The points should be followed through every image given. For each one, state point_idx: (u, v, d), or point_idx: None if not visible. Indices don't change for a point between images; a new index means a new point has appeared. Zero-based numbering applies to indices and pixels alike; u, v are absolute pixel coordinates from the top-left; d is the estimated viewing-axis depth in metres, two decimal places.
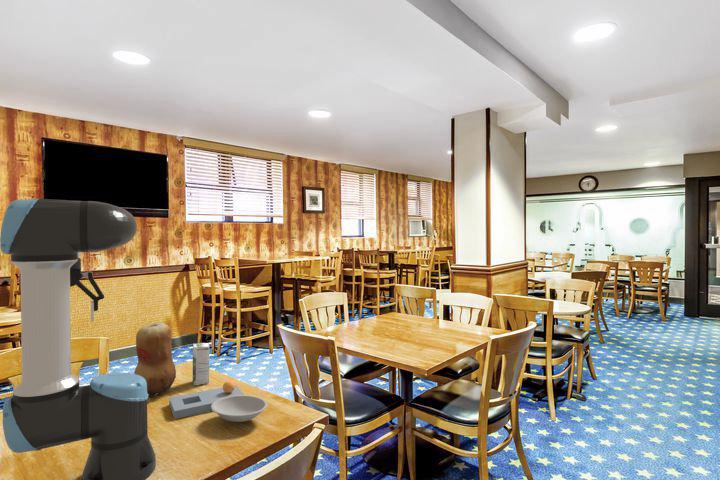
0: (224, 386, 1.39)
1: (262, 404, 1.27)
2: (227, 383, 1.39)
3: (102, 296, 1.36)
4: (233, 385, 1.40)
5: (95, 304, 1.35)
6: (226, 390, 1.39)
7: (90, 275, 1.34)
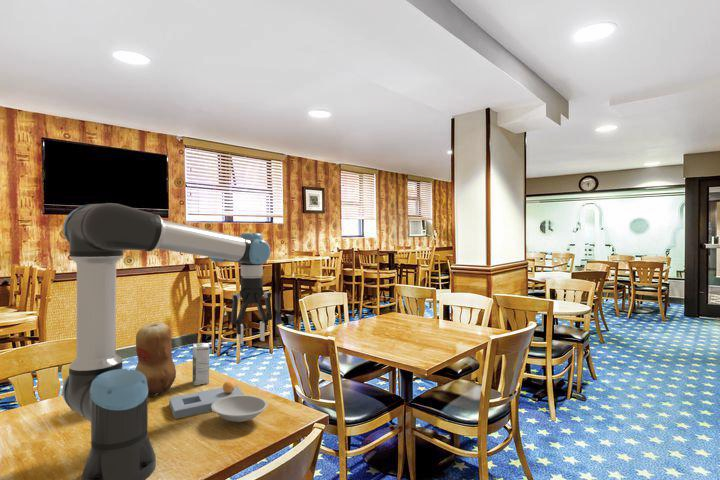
0: (224, 386, 1.39)
1: (262, 404, 1.27)
2: (227, 383, 1.39)
3: (271, 317, 1.47)
4: (233, 385, 1.40)
5: (264, 325, 1.46)
6: (226, 390, 1.39)
7: (269, 295, 1.46)
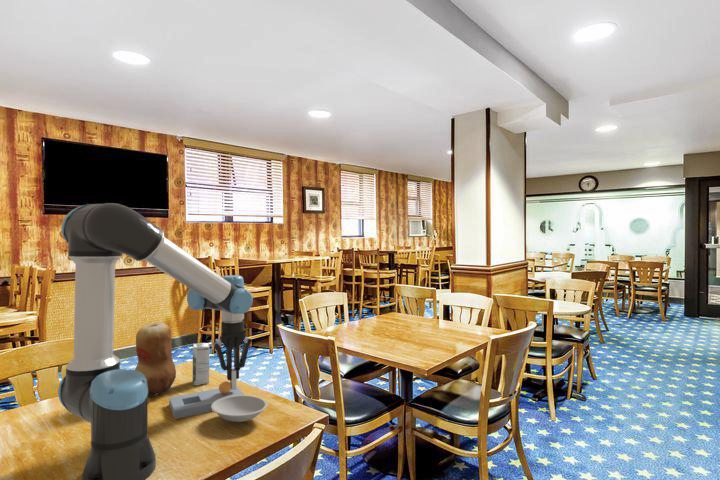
0: (220, 390, 1.38)
1: (262, 404, 1.27)
2: (221, 386, 1.38)
3: (243, 365, 1.42)
4: (227, 384, 1.39)
5: (236, 373, 1.41)
6: (223, 392, 1.38)
7: (249, 342, 1.43)
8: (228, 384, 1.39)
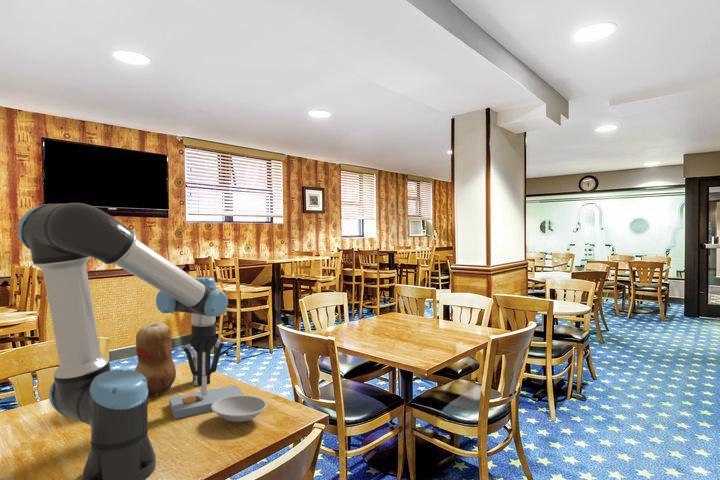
0: (184, 401, 1.33)
1: (262, 404, 1.27)
2: (188, 398, 1.33)
3: (214, 370, 1.37)
4: (194, 400, 1.34)
5: (207, 378, 1.36)
6: None
7: (221, 346, 1.38)
8: (195, 400, 1.34)
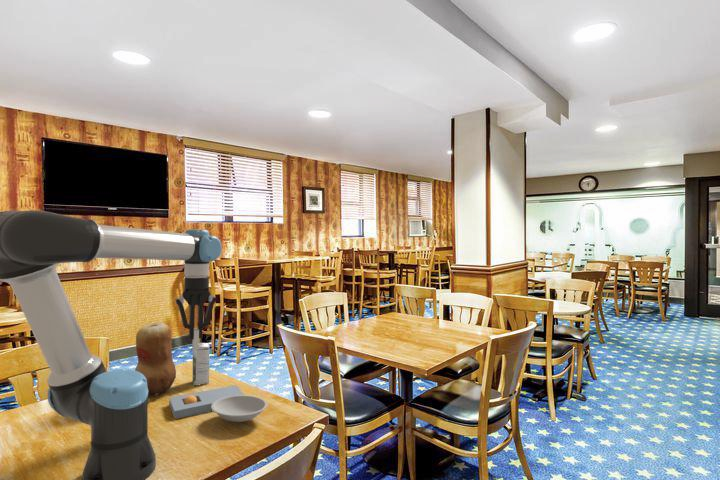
0: (185, 400, 1.33)
1: (262, 404, 1.27)
2: (189, 398, 1.33)
3: (207, 324, 1.34)
4: (195, 400, 1.34)
5: (199, 332, 1.34)
6: None
7: (214, 300, 1.35)
8: (195, 400, 1.34)
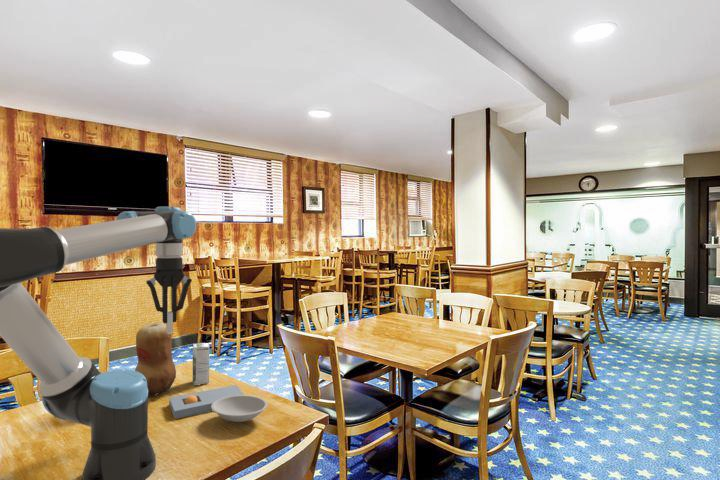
0: (186, 400, 1.33)
1: (262, 404, 1.27)
2: (190, 397, 1.33)
3: (181, 307, 1.27)
4: (196, 401, 1.34)
5: (173, 315, 1.27)
6: None
7: (188, 282, 1.28)
8: (196, 401, 1.34)
